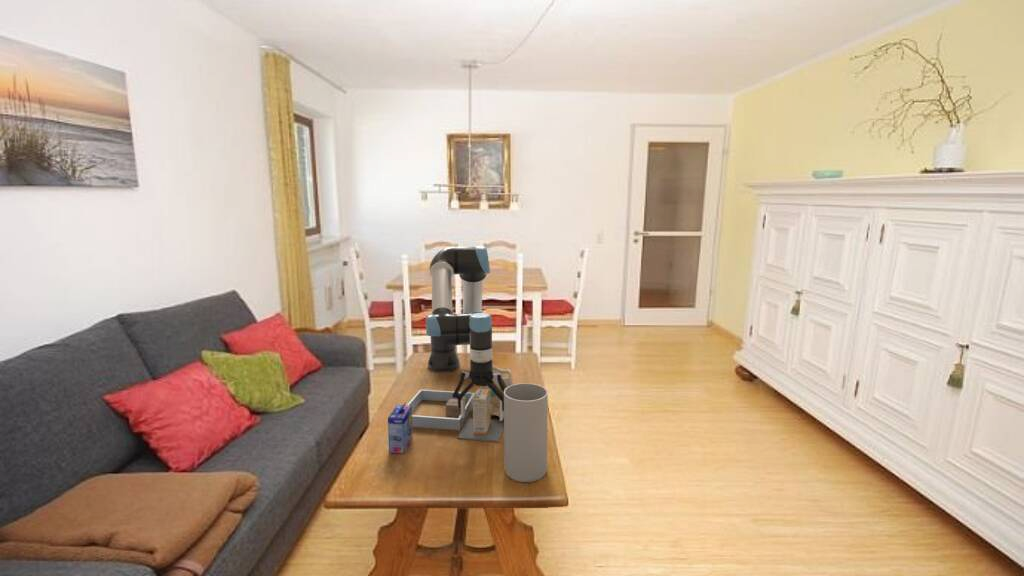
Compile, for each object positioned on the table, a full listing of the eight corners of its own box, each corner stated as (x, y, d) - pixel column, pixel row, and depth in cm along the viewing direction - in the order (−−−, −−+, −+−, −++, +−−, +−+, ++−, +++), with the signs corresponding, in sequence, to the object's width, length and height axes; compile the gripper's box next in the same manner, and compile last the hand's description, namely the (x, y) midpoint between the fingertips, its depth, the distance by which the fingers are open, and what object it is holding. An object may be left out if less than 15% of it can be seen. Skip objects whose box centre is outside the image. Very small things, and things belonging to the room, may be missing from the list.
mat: (468, 419, 169) (467, 418, 169) (505, 422, 167) (505, 420, 167) (457, 438, 156) (457, 437, 156) (498, 442, 153) (498, 440, 153)
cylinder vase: (533, 488, 129) (534, 405, 124) (496, 474, 135) (495, 394, 130) (553, 467, 139) (555, 388, 134) (518, 455, 146) (518, 380, 141)
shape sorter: (529, 417, 170) (529, 370, 167) (509, 426, 162) (509, 378, 160) (491, 402, 183) (491, 359, 181) (471, 410, 176) (471, 365, 173)
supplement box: (477, 422, 166) (476, 388, 163) (490, 423, 165) (490, 389, 162) (472, 434, 158) (471, 398, 155) (486, 435, 157) (486, 399, 154)
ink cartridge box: (405, 454, 146) (403, 411, 144) (388, 453, 147) (385, 411, 144) (413, 438, 156) (411, 398, 153) (397, 437, 156) (395, 397, 154)
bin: (420, 398, 187) (420, 389, 186) (475, 402, 183) (475, 392, 182) (398, 425, 165) (397, 415, 164) (460, 430, 161) (459, 419, 160)
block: (449, 411, 176) (449, 399, 175) (462, 412, 175) (462, 399, 174) (445, 417, 171) (445, 404, 170) (459, 418, 170) (458, 405, 169)
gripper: (442, 361, 155) (444, 420, 159) (516, 365, 151) (516, 425, 155) (448, 353, 162) (450, 410, 166) (519, 357, 158) (519, 415, 162)
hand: (482, 417), depth 160 cm, fingers open, 13 cm apart
